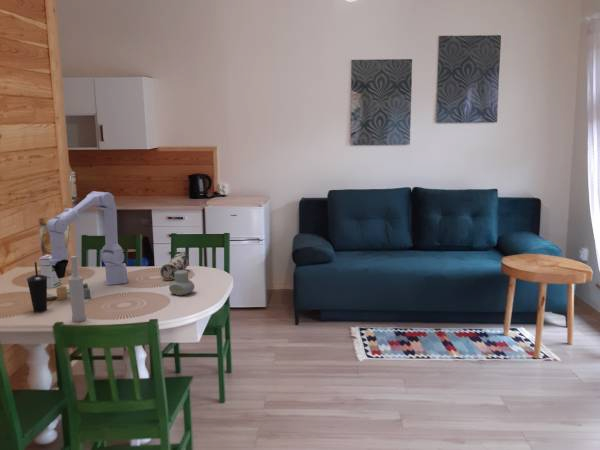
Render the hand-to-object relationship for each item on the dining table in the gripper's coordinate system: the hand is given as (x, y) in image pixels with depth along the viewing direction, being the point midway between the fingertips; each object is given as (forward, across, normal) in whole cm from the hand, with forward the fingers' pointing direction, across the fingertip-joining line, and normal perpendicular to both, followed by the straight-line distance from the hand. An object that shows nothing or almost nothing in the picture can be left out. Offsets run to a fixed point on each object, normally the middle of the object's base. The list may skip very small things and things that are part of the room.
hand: (61, 277), depth 240 cm
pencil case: (+10, +36, -40) cm, 55 cm away
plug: (+9, -1, +2) cm, 10 cm away
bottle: (+10, -26, -18) cm, 33 cm away
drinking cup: (+10, -15, +3) cm, 18 cm away
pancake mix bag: (+10, +40, +21) cm, 46 cm away
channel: (+9, +4, -7) cm, 12 cm away
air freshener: (+10, +7, -50) cm, 51 cm away
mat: (+9, +10, +3) cm, 14 cm away
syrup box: (+10, +19, +14) cm, 25 cm away
